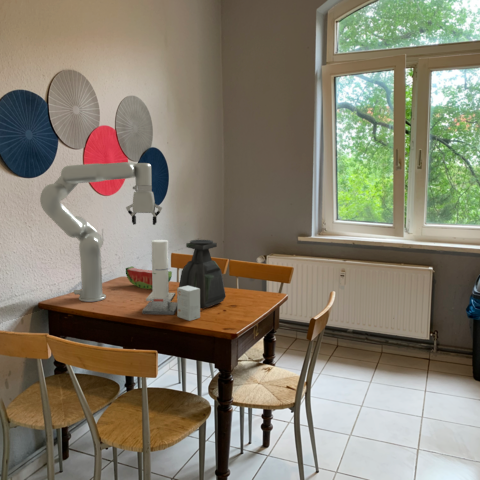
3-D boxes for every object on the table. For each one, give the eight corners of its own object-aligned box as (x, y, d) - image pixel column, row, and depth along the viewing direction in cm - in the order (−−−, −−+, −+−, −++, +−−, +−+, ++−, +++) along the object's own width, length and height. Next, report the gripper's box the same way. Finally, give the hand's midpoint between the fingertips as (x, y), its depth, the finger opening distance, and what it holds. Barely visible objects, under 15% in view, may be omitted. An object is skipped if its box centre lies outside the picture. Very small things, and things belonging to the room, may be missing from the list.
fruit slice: (172, 289, 243) (172, 271, 241) (165, 292, 237) (165, 273, 236) (132, 283, 254) (132, 266, 252) (125, 286, 248) (124, 268, 246)
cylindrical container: (165, 298, 202) (164, 242, 199) (150, 297, 204) (149, 241, 200) (170, 294, 209) (170, 240, 205) (156, 293, 211) (155, 239, 207)
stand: (142, 313, 201) (141, 299, 200) (149, 304, 214) (149, 291, 214) (173, 314, 200) (173, 300, 199) (179, 305, 214) (179, 291, 213)
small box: (200, 317, 197) (200, 288, 195) (189, 321, 192) (189, 291, 190) (188, 313, 202) (188, 285, 200) (176, 316, 197) (176, 287, 195)
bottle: (226, 302, 219) (227, 241, 215) (205, 311, 206) (205, 245, 201) (198, 296, 229) (197, 237, 225) (175, 304, 216) (175, 241, 211)
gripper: (123, 189, 216) (124, 225, 219) (159, 189, 215) (160, 225, 218) (128, 188, 223) (128, 223, 226) (163, 189, 223) (163, 223, 225)
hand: (144, 224), depth 222 cm, fingers open, 9 cm apart
